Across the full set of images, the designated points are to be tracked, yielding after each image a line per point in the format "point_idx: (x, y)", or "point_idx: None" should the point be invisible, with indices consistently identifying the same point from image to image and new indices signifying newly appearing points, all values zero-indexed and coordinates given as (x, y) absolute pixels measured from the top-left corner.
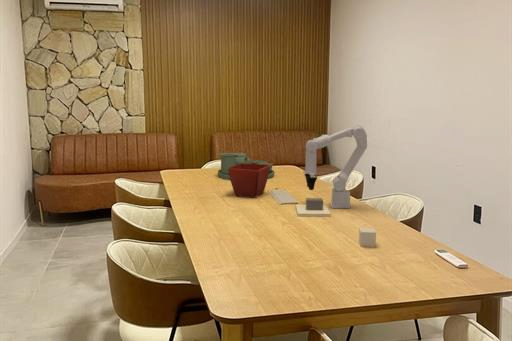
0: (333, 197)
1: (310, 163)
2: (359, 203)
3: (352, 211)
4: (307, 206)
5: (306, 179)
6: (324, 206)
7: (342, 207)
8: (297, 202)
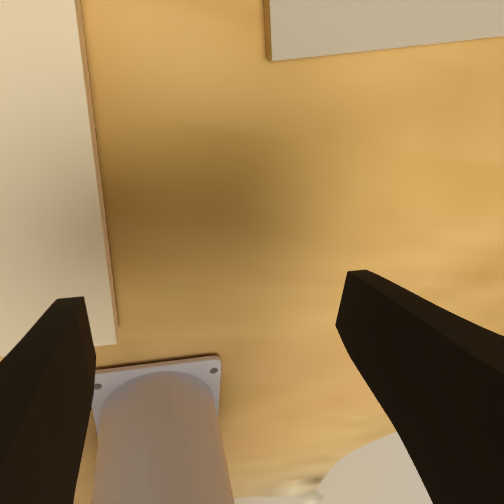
0: (123, 456)
1: None
2: (247, 484)
3: None
4: None
5: (465, 355)
6: None
7: (97, 434)
8: (272, 49)
